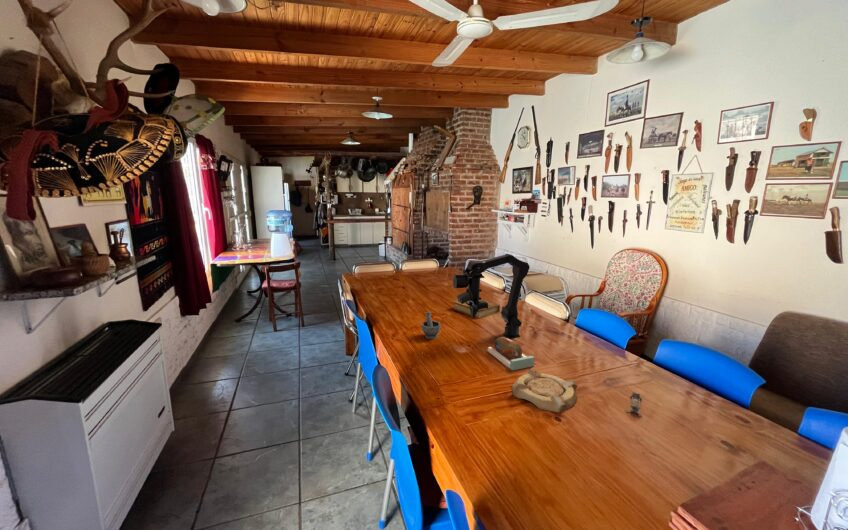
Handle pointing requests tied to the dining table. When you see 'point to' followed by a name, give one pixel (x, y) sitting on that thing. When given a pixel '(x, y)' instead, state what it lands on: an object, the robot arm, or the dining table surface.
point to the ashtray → (546, 391)
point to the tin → (508, 348)
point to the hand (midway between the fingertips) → (473, 317)
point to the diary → (481, 313)
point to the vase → (635, 403)
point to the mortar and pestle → (430, 327)
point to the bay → (514, 363)
